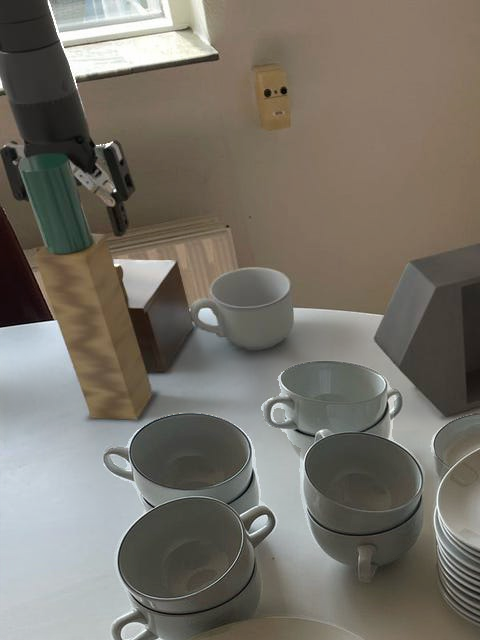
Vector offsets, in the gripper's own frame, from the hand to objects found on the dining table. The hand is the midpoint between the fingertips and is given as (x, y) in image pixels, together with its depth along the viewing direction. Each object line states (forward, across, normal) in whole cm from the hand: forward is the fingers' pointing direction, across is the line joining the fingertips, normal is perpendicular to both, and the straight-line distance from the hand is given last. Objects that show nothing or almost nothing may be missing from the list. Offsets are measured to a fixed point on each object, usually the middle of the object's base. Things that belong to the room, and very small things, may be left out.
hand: (87, 234), depth 123 cm
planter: (+10, -37, +9) cm, 40 cm away
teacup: (+18, -14, -8) cm, 25 cm away
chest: (+18, 0, -5) cm, 19 cm away
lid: (+9, 0, -5) cm, 10 cm away
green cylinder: (-3, -3, +9) cm, 10 cm away
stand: (+18, -2, +9) cm, 21 cm away
